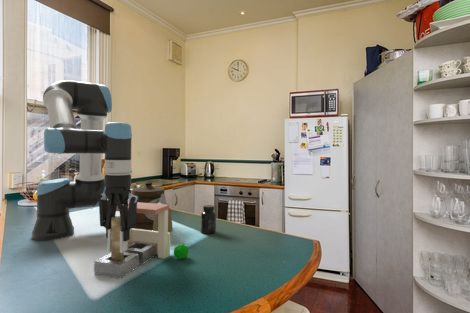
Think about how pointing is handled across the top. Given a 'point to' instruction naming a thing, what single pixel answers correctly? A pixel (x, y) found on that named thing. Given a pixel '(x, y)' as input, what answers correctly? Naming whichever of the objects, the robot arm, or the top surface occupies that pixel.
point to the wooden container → (147, 196)
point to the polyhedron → (181, 251)
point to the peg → (116, 239)
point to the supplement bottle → (208, 220)
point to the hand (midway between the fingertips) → (117, 250)
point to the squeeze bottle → (155, 224)
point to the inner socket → (142, 250)
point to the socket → (116, 265)
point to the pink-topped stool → (153, 236)
